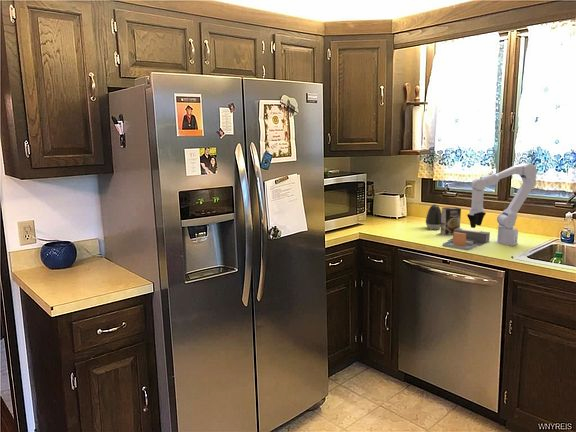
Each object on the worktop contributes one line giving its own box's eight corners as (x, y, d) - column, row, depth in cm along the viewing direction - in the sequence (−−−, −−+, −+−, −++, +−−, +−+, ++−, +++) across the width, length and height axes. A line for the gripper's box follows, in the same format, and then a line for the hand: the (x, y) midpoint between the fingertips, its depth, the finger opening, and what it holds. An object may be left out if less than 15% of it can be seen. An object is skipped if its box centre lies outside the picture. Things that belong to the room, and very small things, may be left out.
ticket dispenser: (489, 242, 252) (489, 231, 251) (479, 247, 243) (480, 236, 242) (457, 237, 265) (457, 227, 263) (446, 241, 255) (447, 231, 254)
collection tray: (476, 247, 242) (476, 244, 242) (468, 251, 235) (468, 248, 235) (450, 243, 252) (450, 240, 252) (442, 247, 245) (442, 243, 244)
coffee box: (445, 236, 268) (446, 209, 265) (440, 234, 274) (441, 207, 271) (460, 235, 269) (461, 208, 266) (454, 233, 275) (455, 206, 272)
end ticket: (465, 246, 242) (466, 233, 241) (464, 247, 241) (465, 234, 240) (454, 244, 246) (455, 232, 245) (453, 245, 245) (453, 232, 244)
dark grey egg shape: (423, 229, 287) (424, 205, 284) (428, 226, 296) (429, 202, 293) (439, 231, 282) (440, 206, 279) (444, 227, 290) (445, 204, 287)
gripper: (475, 199, 254) (473, 223, 257) (464, 202, 244) (463, 227, 247) (488, 200, 250) (486, 225, 252) (477, 203, 239) (476, 229, 242)
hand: (475, 226), depth 249 cm, fingers open, 7 cm apart
